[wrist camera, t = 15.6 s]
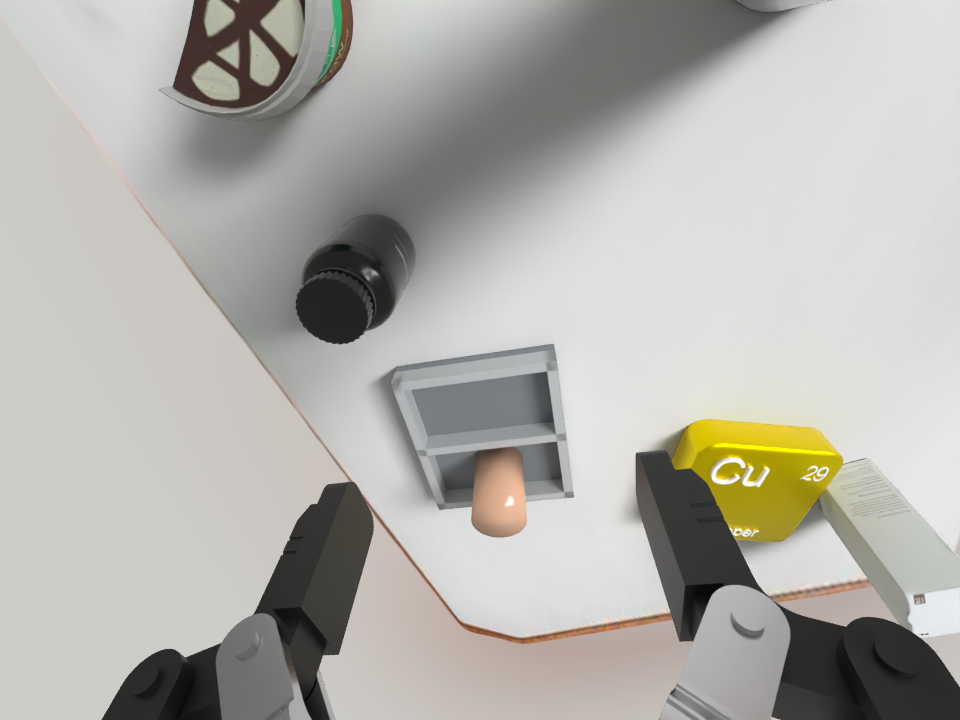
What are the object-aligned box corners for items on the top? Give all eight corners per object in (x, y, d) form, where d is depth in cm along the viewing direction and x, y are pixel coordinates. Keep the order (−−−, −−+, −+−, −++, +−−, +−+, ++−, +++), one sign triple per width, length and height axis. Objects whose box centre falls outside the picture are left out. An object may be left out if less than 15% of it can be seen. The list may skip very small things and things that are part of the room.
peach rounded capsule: (519, 440, 48) (522, 499, 42) (526, 474, 51) (530, 534, 44) (470, 446, 49) (466, 505, 42) (480, 479, 52) (477, 539, 45)
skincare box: (873, 498, 52) (988, 631, 40) (817, 512, 54) (911, 644, 42) (868, 453, 48) (993, 585, 36) (808, 470, 50) (907, 601, 38)
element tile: (649, 505, 55) (660, 538, 51) (688, 414, 47) (705, 446, 43) (767, 514, 55) (787, 549, 51) (826, 426, 47) (857, 458, 43)
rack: (553, 344, 42) (556, 360, 40) (570, 476, 52) (573, 497, 50) (396, 366, 45) (390, 384, 42) (442, 489, 55) (439, 509, 52)
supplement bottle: (432, 251, 38) (407, 315, 28) (385, 301, 41) (346, 376, 31) (369, 193, 35) (315, 241, 25) (323, 250, 38) (259, 314, 28)
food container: (323, 148, 34) (263, 173, 25) (246, 92, 32) (155, 99, 24) (405, -21, 28) (364, -61, 20) (318, -101, 26) (231, -183, 18)
